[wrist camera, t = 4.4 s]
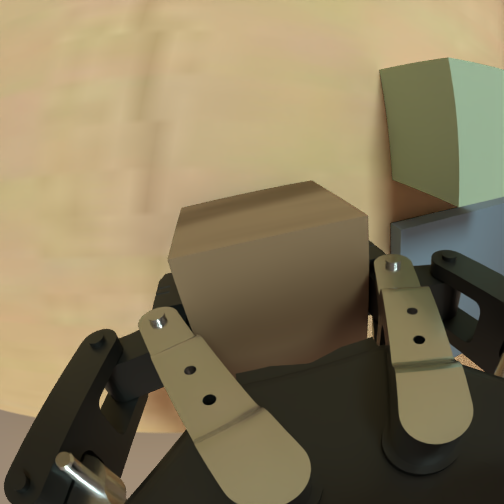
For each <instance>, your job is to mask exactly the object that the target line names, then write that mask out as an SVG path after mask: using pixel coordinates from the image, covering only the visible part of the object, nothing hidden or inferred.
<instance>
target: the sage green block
mask: <svg viewBox="0 0 504 504" xmlns="http://www.w3.org/2000/svg"><path fill="white" fill-rule="evenodd" d="M379 71H380V77H381V82H382V89H383V95H384V102H385V109H386V116H387V124H388V133H389V143H390V154H391V167H392V180H394V181H397V182H400V183H402V184H405V185H407V186H410V187H412V188H415V189H417V190H420V191H422V192H425V193H427V194H429V195H432V196H434V197H436V198H439V199H441V200H443V201H446V202H448V203H450V204H452V205H455V206H457V207H462V206H466V205H471V204H475V203H479V202H483V201H488V200H492V199H496V198H500V197H504V70H502V69H499V68H495V67H491V66H487V65H483V64H478V63H474V62H469V61H464V60H459V59H453V58H441V59H435V60H428V61H422V62H416V63H410V64H405V65H400V66H395V67H390V68H385V69H381V70H379Z"/></svg>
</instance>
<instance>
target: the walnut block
mask: <svg viewBox="0 0 504 504" xmlns="http://www.w3.org/2000/svg"><path fill="white" fill-rule="evenodd" d="M168 263H169V266H170V269H171V272H172V275H173V278H174V281H175V284H176V287H177V290H178V293H179V296H180V298H181V301H182V304H183V307H184V310H185V313H186V315H187V318H188V321H189V324H190V326H191V329H192V332H193V334H194V336H196V335H198V334H199V335H200V336H201V337H202V338H203V339H204V341H205V342H206V343H207V344H208V346H209V347H210V348H211V350H212V351H213V352H214V353H215V355H216V356H217V357H218V358H219V360H220V361H221V362H222V363H223V365H224V366H225V367H226V368H227V370H228V371H229V372H230V373H231V374H232V376H233V377H234V378H235V379H236V374H237V373H242V372H247V371H251V370H256V369H260V368H264V367H269V366H280V365H296V364H307V363H311V362H313V361H315V360H317V359H319V358H321V357H323V356H325V355H327V354H329V353H331V352H333V351H335V350H336V349H338V348H340V347H343V346H346V345H349V344H352V343H355V342H358V341H361V340H365V339H367V326H368V302H369V233H368V215H367V214H365V213H364V212H362V211H360V210H359V209H357V208H356V207H354V206H353V205H351V204H349V203H348V202H346V201H345V200H343V199H341V198H340V197H338V196H337V195H335V194H333V193H332V192H330V191H328V190H327V189H325V188H323V187H322V186H320V185H318V184H317V183H315V182H313V181H306V182H301V183H295V184H290V185H285V186H280V187H275V188H270V189H265V190H260V191H255V192H250V193H245V194H241V195H236V196H231V197H227V198H222V199H218V200H214V201H209V202H205V203H201V204H196V205H192V206H188V207H184V208H181V211H180V215H179V219H178V222H177V226H176V229H175V233H174V237H173V241H172V244H171V248H170V252H169V256H168Z"/></svg>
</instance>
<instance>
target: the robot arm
mask: <svg viewBox="0 0 504 504" xmlns="http://www.w3.org/2000/svg"><path fill="white" fill-rule="evenodd" d="M461 293H463V294H464V295H466V296H467V297H469V298H471V299H472V300H474V301H475V302H476V303H477V304H478V306H479V308H480V316H479V319H478V320H477V319H475V318H474V317H472V316H471V315H469V314H468V313H466V312H465V311H463V310H462V309H460V308H459V307H458V305H459V301H460V296H461ZM368 315H372V335H373V337H371V338H368V339H365V340H361V341H358V342H355V343H352V344H349V345H346V346H343V347H340V348H338V349H336V350H335V351H333V352H331V353H329V354H327V355H325V356H323V357H321V358H319V359H317V360H315V361H313V362H311V363H307V364H296V365H280V366H269V367H264V368H260V369H256V370H251V371H247V372H242V373H237V374H236V379H235V378H234V377H233V376H232V374H231V373H230V372H229V371H228V370H227V368H226V367H225V366H224V365H223V363H222V362H221V361H220V360H219V358H218V357H217V356H216V355H215V353H214V352H213V351H212V350H211V348H210V347H209V346H208V344H207V343H206V342H205V341H204V339H203V338H202V337H201V336H200V335H199V334H198V335H196V336H194V334H193V332H192V329H191V326H190V324H189V321H188V318H187V315H186V313H185V310H184V307H183V304H182V301H181V298H180V296H179V293H178V290H177V287H176V284H175V281H174V278H173V275H172V273H168V274H165V275H164V276H163V278H162V279H161V280H160V281H159V284H158V290H157V292H156V296H155V300H154V304H153V309H152V310H151V311H149V312H147V313H146V314H145V315H143V316H142V317H141V319H140V320H139V322H138V327H139V330H138V331H136V332H134V333H132V334H129V335H127V336H124V337H122V338H118V337H117V335H116V333H115V332H114V331H113V330H110V329H102V330H99V331H96V332H94V333H92V334H90V335H89V336H88V337H86V338H85V339H84V341H83V342H82V343H81V345H80V346H79V348H78V349H77V351H76V353H75V354H74V356H73V357H72V359H71V360H70V362H69V363H68V365H67V367H66V368H65V370H64V371H63V373H62V375H61V376H60V378H59V379H58V381H57V383H56V384H55V386H54V388H53V389H52V391H51V393H50V394H49V396H48V398H47V400H46V401H45V403H44V405H43V406H42V408H41V410H40V412H39V413H38V415H37V417H36V419H35V421H34V423H33V424H32V426H31V428H30V430H29V432H28V433H27V435H26V437H25V439H24V441H23V443H22V445H21V447H20V449H19V451H18V453H17V455H16V457H15V459H14V461H13V463H12V465H11V467H10V469H9V471H8V474H7V475H6V478H5V482H4V491H5V495H6V497H7V499H8V500H9V502H11V503H12V504H504V276H503V275H502V274H500V273H498V272H496V271H494V270H492V269H490V268H488V267H486V266H484V265H483V264H481V263H479V262H477V261H475V260H473V259H471V258H469V257H467V256H465V255H463V254H461V253H459V252H456V251H452V250H439V251H436V252H434V253H433V254H432V257H431V265H419V266H413V264H412V262H411V260H410V259H409V258H407V257H405V256H403V255H398V254H385V253H384V252H383V251H382V250H380V249H379V248H378V247H377V246H376V245H375V246H374V244H373V243H372V242H371V241H369V302H368ZM449 343H450V344H451V345H452V346H453V347H455V348H456V349H457V350H459V351H460V352H461V353H462V354H464V355H465V356H466V357H467V358H469V359H470V360H471V361H473V362H474V363H475V364H476V365H478V366H479V367H480V368H481V369H483V370H484V371H485V372H484V371H480V370H477V369H474V368H471V367H468V366H465V365H462V364H461V363H460V362H459V361H456V360H455V359H454V357H453V354H452V350H451V347H450V344H449ZM162 387H165V389H166V391H167V393H168V395H169V397H170V399H171V401H172V403H173V405H174V407H175V409H176V411H177V413H178V415H179V417H180V418H181V420H182V422H183V424H184V426H185V428H186V430H185V432H184V433H183V434H182V436H181V437H180V438H179V439H178V440H177V442H176V443H175V444H174V445H173V446H172V448H171V449H170V450H169V451H168V453H167V454H166V455H165V456H164V457H163V459H162V460H161V461H160V462H159V463H158V465H157V466H156V467H155V468H154V469H153V471H152V472H151V473H150V474H149V475H148V476H147V478H146V479H145V480H144V481H143V482H142V483H141V485H140V486H139V487H138V488H137V489H136V490H135V491H134V493H133V494H132V495H131V496H130V498H128V499H126V487H125V485H124V483H123V481H122V480H121V479H120V478H121V475H122V472H123V469H124V466H125V463H126V460H127V457H128V454H129V451H130V448H131V445H132V442H133V439H134V436H135V433H136V430H137V427H138V424H139V421H140V419H141V416H142V413H143V410H144V407H145V404H146V402H147V399H148V393H150V392H152V391H155V390H157V389H160V388H162ZM104 388H105V389H106V390H107V392H108V394H107V396H106V398H105V401H104V403H103V405H102V407H101V409H100V407H99V399H100V396H101V394H102V392H103V390H104Z"/></svg>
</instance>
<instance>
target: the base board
mask: <svg viewBox="0 0 504 504" xmlns="http://www.w3.org/2000/svg"><path fill="white" fill-rule="evenodd" d="M439 250H452V251H456V252H459V253H461V254H463V255H465V256H467V257H469V258H471V259H473V260H475V261H477V262H479V263H481V264H483V265H484V266H486V267H488V268H490V269H492V270H494V271H496V272H498V273H500V274H502V275H503V276H504V197H500V198H496V199H492V200H488V201H483V202H479V203H475V204H471V205H466V206H462V207H457V208H453V209H449V210H445V211H440V212H436V213H432V214H428V215H424V216H419V217H415V218H411V219H407V220H403V221H398V222H394V223H391V254H398V255H403V256H405V257H407V258H409V259H410V260H411V262H412V264H413V266H419V265H431V257H432V254H433V253H434V252H436V251H439ZM458 307H459V308H460V309H462V310H463V311H465V312H466V313H468V314H469V315H471V316H472V317H474V318H475V319H477V320H478V319H479V316H480V308H479V306H478V304H477V303H476V302H475V301H474V300H472V299H471V298H469V297H467V296H466V295H464V294H463V293H461V296H460V301H459V305H458ZM449 344H450V343H449ZM450 347H451V350H452V354H453V357H456V356H458V355H460V354H462V353H461V352H460V351H459V350H457V349H456V348H455V347H453V346H452V345H451V344H450Z"/></svg>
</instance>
